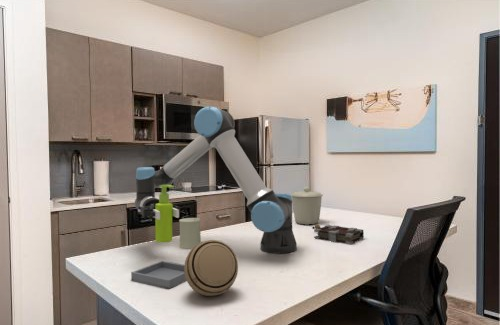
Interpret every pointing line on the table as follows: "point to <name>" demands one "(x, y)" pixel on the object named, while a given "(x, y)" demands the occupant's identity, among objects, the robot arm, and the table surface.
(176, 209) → the robot arm
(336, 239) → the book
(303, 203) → the canister
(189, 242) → the can
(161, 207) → the soap dispenser
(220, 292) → the tan ball
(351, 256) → the table surface
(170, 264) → the tray
